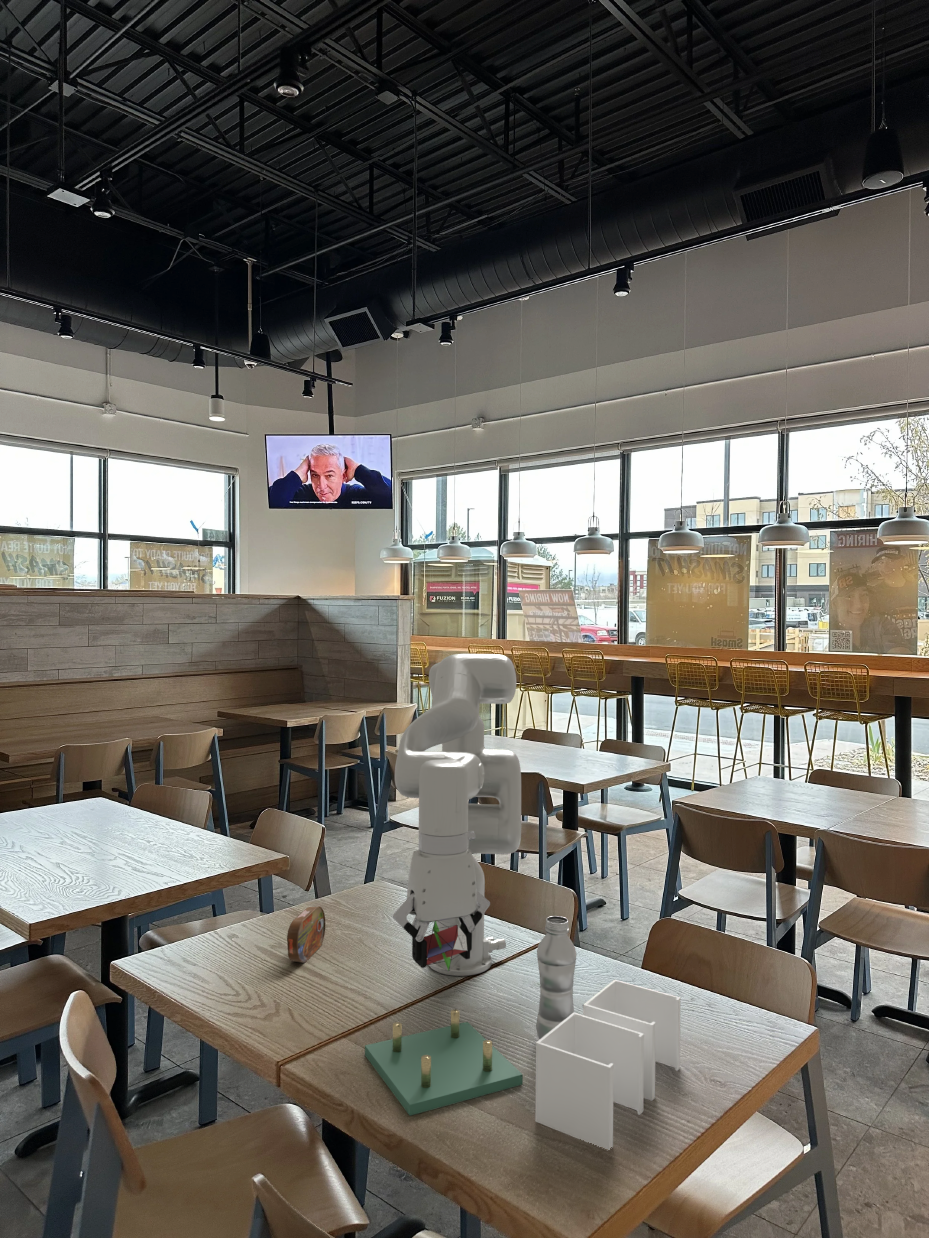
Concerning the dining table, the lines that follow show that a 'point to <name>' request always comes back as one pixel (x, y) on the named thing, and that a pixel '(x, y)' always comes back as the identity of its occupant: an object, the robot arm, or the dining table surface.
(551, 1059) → the white u-channel brackets
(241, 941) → the dining table surface
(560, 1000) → the plastic bottle
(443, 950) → the geometric puzzle
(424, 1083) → the brass standoffs
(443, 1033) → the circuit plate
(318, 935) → the tin
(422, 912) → the robot arm
